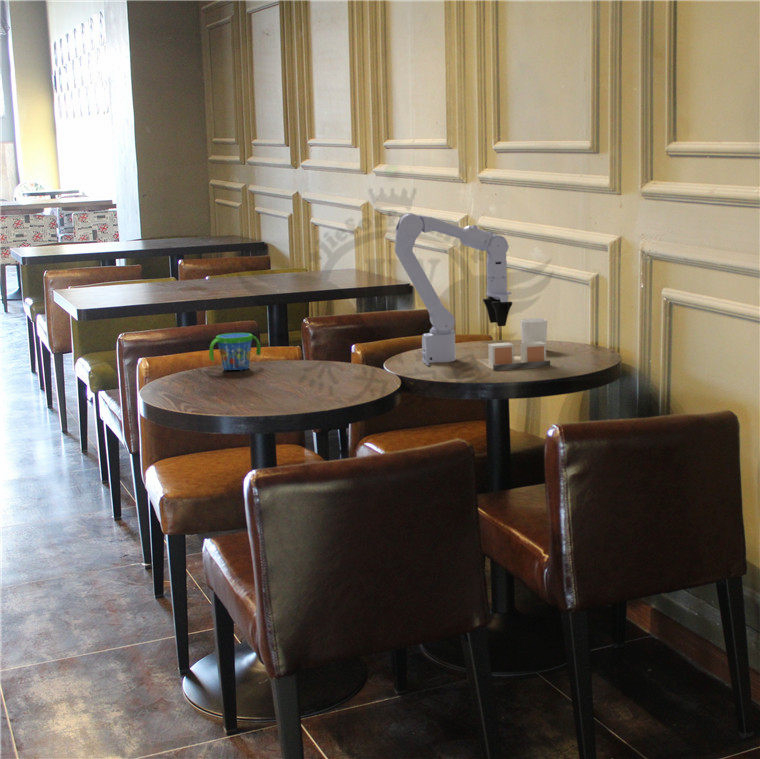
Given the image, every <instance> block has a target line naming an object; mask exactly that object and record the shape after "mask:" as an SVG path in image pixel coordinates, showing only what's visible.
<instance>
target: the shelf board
mask: <svg viewBox="0 0 760 759" xmlns="http://www.w3.org/2000/svg"><path fill="white" fill-rule="evenodd" d="M475 360H476V361H477V362H479V363H481V364H482V365H484V366H485V367H487V368H489V369H491V370H492V371H494V372H495V371H508V370H509V371H511V370H523V369H534V368H535V369H536V368H548V367H551V360H546V361H537V362H524V363H521V355H518V356H517V355H516V356H514V363H510V364H497V365H493V367H491V366H489V357H488V358H479V359H478V358H477V359H475Z"/></svg>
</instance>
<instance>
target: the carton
mask: <svg viewBox="0 0 760 759" xmlns="http://www.w3.org/2000/svg"><path fill="white" fill-rule="evenodd" d="M514 346H515V345H514V344H513V343H511V342H498V343H497V342H496V343H488V347H487V348H488V358H489V366H491V367H493V365H497V364H510V363H514V355H515V353H514V352H515V347H514Z"/></svg>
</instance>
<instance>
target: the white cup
mask: <svg viewBox="0 0 760 759" xmlns="http://www.w3.org/2000/svg"><path fill="white" fill-rule="evenodd" d="M520 333H521V334H520V335H521V343H527V342H543V343H546V344H547V337H548V319H546V318H540V317H535V318H534V317H531V318H523V319H520Z"/></svg>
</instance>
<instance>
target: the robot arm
mask: <svg viewBox="0 0 760 759" xmlns="http://www.w3.org/2000/svg"><path fill="white" fill-rule="evenodd" d="M431 232H436V233H440V234H443V235H446V236H450V237H453V238H455V239H459V241H460V243H461V245H462V246H465V247H469V248H472V249H475V250H478V251H481V252H484V251H485V252H486V297H487V298H482V301H483V303H484V306H485V308H486V311H487V315H488V320H489V322H490V324H493V323H494V324H495V323H496V324H497V326H498V327H506V325H507V321H508V317H509V316H508V315H509V312H510V309H511V307H512V305H513V301H509V295H512V292H511V291H509V290H508V272H507V271H508V265H507V264H508V263H507V262H508V260H507V252H508V251H509V247H510V246H509V244H508V241H507V239H506V238H505V237H504V236H502V235H499V234H497V233H494V231H492V230H489V231H487V230H484V229H481V228H478V225H476V224H472V225H470V224H469V225H466V226H464V227H459V226H457V225H454V224H452V223H449V222H446V221H443V220H440V219H438V218H435V217H432V216H427V215H422V214H415V213H412V212H410V213H407V212H406V213H404V214H403V215H401V217H400V218H399V219H398V222H397V224H396V227H395V239H394V240H395V241H394V252H395V256H397V258H398V259H399V262H400V264H401V265H402V267H403V269H404V271H405V272H406V274H407V277H408V278H409V280H410V282H411V283H412V284H413V287H414V289H415V290H416V292H417V294H418V295H419V298H420V300H422V303H423V304H424V307H425V308H426V310H427V312H428V314H429V322H430V323H431V325H432V326H431V328H430V329H429V332H428V333H423V334H422V337H421V356H422V359H421V361H422V362H423V364H426V365H427V366H432V363H433V364H434V363H448V362H449V363H450V362H454V361H456V358H457V357H456V332H455V331H456V330H455V329H454V327H455V322H456V320H455V317H454V315H453V314H452V312H451V311H449V309H447V308H446V307H445V306H444V304H443V302H442V301H441V299H440V297H439V296H438V293H437V292H436V290H435V288H434V287H433V285H432V283H431V281H430V280H429V278H428V276H427V274H426V273H425V270H424V269H423V267H422V265H421V264H420V262H419V260H418V258H417V256H416V254H415V253H414V251H413V249H414V246H415V243H416V240H417V239H418V237H419V236H420V235H421V233H431Z"/></svg>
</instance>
